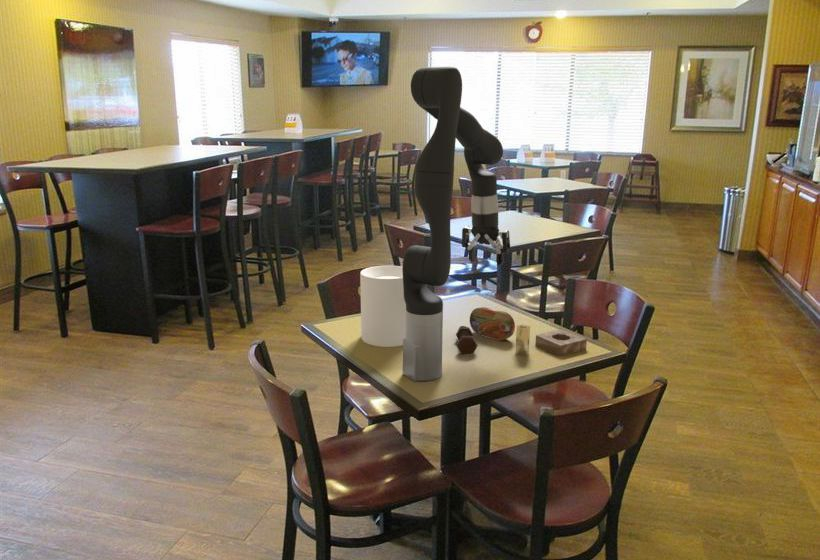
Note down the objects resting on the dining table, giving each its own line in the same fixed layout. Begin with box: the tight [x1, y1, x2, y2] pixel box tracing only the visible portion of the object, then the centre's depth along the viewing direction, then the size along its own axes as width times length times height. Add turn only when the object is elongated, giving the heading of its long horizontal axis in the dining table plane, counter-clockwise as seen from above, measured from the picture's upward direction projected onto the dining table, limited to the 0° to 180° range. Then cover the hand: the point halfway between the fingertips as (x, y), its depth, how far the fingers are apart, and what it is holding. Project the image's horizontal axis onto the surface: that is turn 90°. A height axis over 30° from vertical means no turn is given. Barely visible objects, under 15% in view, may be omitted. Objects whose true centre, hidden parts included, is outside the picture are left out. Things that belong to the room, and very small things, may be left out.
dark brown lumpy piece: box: [455, 325, 478, 355], centre depth 189 cm, size 6×5×15 cm
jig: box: [535, 328, 588, 357], centre depth 187 cm, size 10×10×3 cm
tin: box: [469, 306, 516, 341], centre depth 195 cm, size 15×3×8 cm, turn 47°
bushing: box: [515, 324, 531, 357], centre depth 181 cm, size 4×4×8 cm
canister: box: [359, 265, 406, 348], centre depth 193 cm, size 16×16×20 cm
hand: (486, 263), depth 192 cm, fingers open, 8 cm apart
